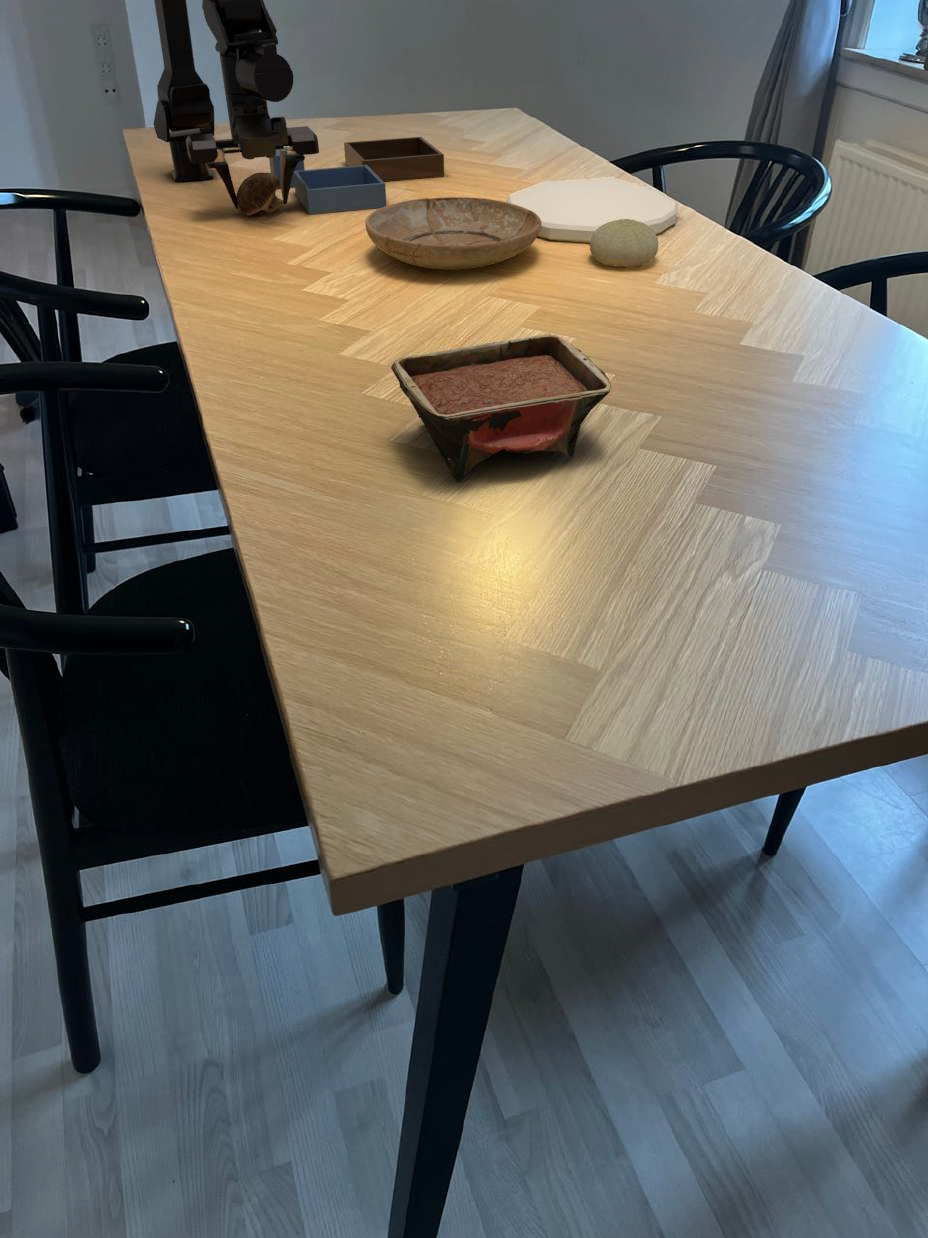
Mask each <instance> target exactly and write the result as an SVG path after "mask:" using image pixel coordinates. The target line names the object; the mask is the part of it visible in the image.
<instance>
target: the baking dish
mask: <svg viewBox="0 0 928 1238" xmlns="http://www.w3.org/2000/svg"><path fill="white" fill-rule="evenodd" d="M390 369H391V371H392V373H393V375H394V376H395V378H396V379H397V381H398V383H399V388H400V390H401V391H402V392H403V394H404V395H405V396H406V397H407V399H408V400H409V401H410V403H411V404H412V407H413V408H414V410H415V412H416V413H417V415H418V418H420V420H421V422H422V423H423V425H424V427H425V428H426V431H427V432H428V434H429V436H430V438H431V439H432V441H433V443H434V445H435V446H436V448H437V450H438V452H439V454H440V455H441V457H442V459H443V461H444V463H445V465H446V466H447V468H448V471H449V472H450V474H451V476H452V477H453V479H454V480H455V481H456V482H457V483H459V482H460V480H461V479H463V477H464V476H466V474H468V473H469V472H470V471H471V470H472V469H473V468H475V467H476V466H478V465H479V464H481V463H482V462H484V461H485V460H487V459H489V458H490V457H492V456H493V455H496V454H497V453H498V452H500V451H501V450H502V451H503V450H504V451H506V452H509V453H516V454H526V455H528V454H530V453H533V452H537V451H538V452H561V453H562V454H564V455H566V456H568V457H569V458H572V459H573V458H574V454H575V450H576V445H577V441H578V437H579V433H580V428H581V425H582V424H583V423H584V421H585V419H586V418H587V417H588V415H589V414H590V412H591V411H592V410H593V409H594V408H596V406H597V405H598V404H599V403H601V401H602V400H603V399H605V397H607V396H608V395H609V394H610V392H611V390H612V385H611V382H610V379H609V377H608V376H607V374H606V372H605V371H603V370H602V369H601V368H599V367H598V365H596V364H594V362H593V361H592V360H591V359H590V358H589V357H588V355H586V354H584V353H583V352H582V350H581V349H579V348H577V347H575V346H574V345H573V344H572V343H570V342H569V341H567V340H566V339H564V338H563V337H562V336H559V335H557V334H551V333H549V334H539V335H533V336H528V337H522V338H514V339H510V340H501V341H494V342H488V343H483V344H476V345H469V346H463V347H458V348H454V349H453V348H452V349H446V350H440V351H436V352H429V353H423V354H416V355H414V354H413V355H408V356H405V357H401V358H397V359H396V360H394V362H393V363H392V365H391V367H390Z"/></svg>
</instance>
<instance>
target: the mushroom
mask: <svg viewBox="0 0 928 1238" xmlns="http://www.w3.org/2000/svg"><path fill="white" fill-rule="evenodd" d="M279 185H280V179H279V178H278V177H277V176H276V175H275V174H272V173H271V172H255V173H253V174H250V175H249V176H248V177H246V178H245V179H243V181H242V182H241V183H240V185H239V187H238V188H237V191H236V197H237V203H238V209H239V211H240V212H241V213H242V214H243V215H245V216H248V217H250V216H253V215H255V214H256V213H258V212H260V211H264V212H265V213H268V214H270V213H273V212H275V211H276V210H278V209H279V208H280V207H282V206H283V205H284V201H283V199H281V198H279V197H278V196H277V195H276V192H277V190H278V189H279V188H278V187H279Z"/></svg>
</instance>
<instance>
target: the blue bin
mask: <svg viewBox="0 0 928 1238" xmlns="http://www.w3.org/2000/svg"><path fill="white" fill-rule="evenodd" d="M293 175H294V184H295V187H294V192H295V195H296V197H297V199H298V200H299V202H300V203H301V204H302V206H303V208H304V209H305V211H306V212H307V214H309V215H318V214H329V213H340V212H351V211H363V210H371V209H380V208H382V207H385V206H387V191H386V189H387V188H386V183H385V182H383V181H382V180H381V179H380V178H379V177H378V176H377V175H376V174H375V173H374V172H373V171H372V170H371V169H370V168H369V166H368V165H361V166H339V167H326V168H313V169H305V170H300V171H294V173H293Z"/></svg>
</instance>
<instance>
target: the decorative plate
mask: <svg viewBox="0 0 928 1238" xmlns="http://www.w3.org/2000/svg"><path fill="white" fill-rule="evenodd" d="M506 203H511V204H515V205H518V206H521V207H523V208H526V209H528V210H530V211H533V212H534V213H536V214H537V215H538V216H539V218H540V220H541V230H540V233H539V235H538V236H537V238H542V239H544V240H545V239H546V240H549V241H558V242H571V243H572V242H573V243H585V244H590V240H591V238H592V235H593V233H594V232H595V231H596V230H597V229H598V228H599V227H600V226H602V225H603V224H606V223H608V222H612V221H613V220H614V221H616V220H619V219H630V220H635V221H638V222H641V223H644V224H646V225H648V226H649V227H650V228H652V230H653V231H654V232H655V234H656V235H659V234H660V233H662V232H663V231H665V230H667V229H668V228H669V227H671V226H673V225H674V224H676V222H677V215H678V209H679V208H678V207H679V204H678V202H677V201H676V200H673V199H672V198H671V197H669V196H668V195H666V194H665V193H663V192H662V191H660V190H657V189H654V188H650V187H649V186H645V185H642V184H639V183H635V182H632V181H628V180H625V179H621V178H618V177H614V176H612V175H611V176H601V177H591V178H582V179H581V178H580V179H567V180H566V179H563V180H544V181H541V182H538V183H535V184H533V185H531V186H528V187H526V188H523V189H518V190H516V191H515V192H512V193H510V194H508V196H507V197H506Z"/></svg>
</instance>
